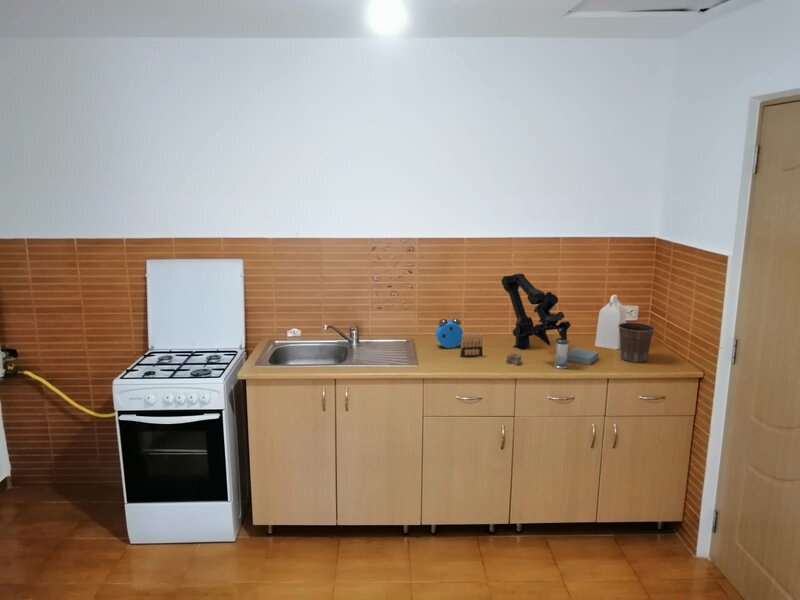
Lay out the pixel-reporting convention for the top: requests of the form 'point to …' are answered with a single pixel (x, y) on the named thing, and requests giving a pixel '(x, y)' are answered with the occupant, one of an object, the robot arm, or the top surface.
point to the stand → (582, 356)
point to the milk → (610, 324)
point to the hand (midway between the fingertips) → (558, 343)
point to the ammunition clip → (471, 346)
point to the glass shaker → (561, 353)
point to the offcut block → (513, 358)
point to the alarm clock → (449, 333)
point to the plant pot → (635, 341)
